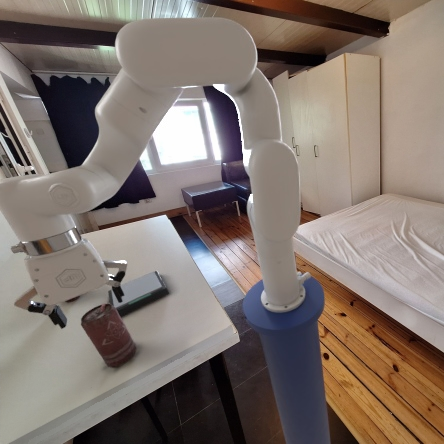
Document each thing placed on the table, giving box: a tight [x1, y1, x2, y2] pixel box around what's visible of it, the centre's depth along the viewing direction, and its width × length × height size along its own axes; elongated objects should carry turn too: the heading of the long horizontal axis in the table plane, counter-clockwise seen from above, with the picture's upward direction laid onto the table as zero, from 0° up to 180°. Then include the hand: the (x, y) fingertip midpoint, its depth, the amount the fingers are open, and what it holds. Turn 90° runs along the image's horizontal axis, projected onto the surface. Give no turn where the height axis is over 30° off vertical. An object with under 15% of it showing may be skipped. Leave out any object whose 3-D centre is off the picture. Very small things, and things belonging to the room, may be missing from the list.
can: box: [80, 302, 137, 368], centre depth 53 cm, size 6×6×14 cm
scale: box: [107, 270, 170, 318], centre depth 77 cm, size 15×15×3 cm
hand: (94, 311), depth 50 cm, fingers open, 9 cm apart
